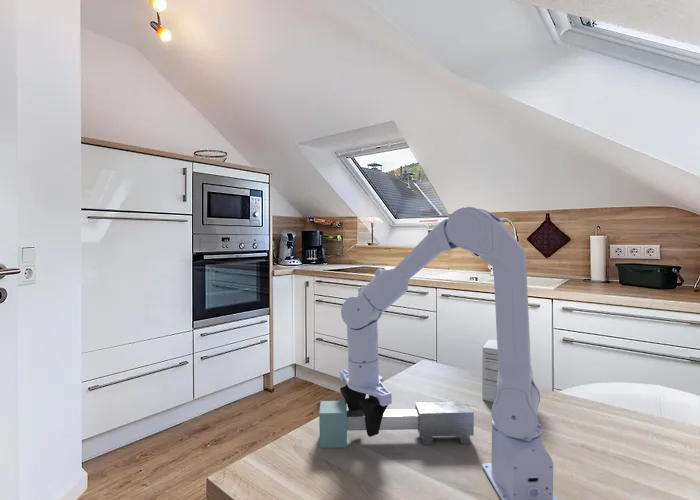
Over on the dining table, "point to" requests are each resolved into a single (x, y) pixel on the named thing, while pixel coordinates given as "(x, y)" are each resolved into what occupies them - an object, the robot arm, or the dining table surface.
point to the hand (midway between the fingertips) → (364, 428)
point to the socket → (333, 424)
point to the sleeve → (445, 420)
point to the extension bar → (385, 420)
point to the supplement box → (490, 371)
